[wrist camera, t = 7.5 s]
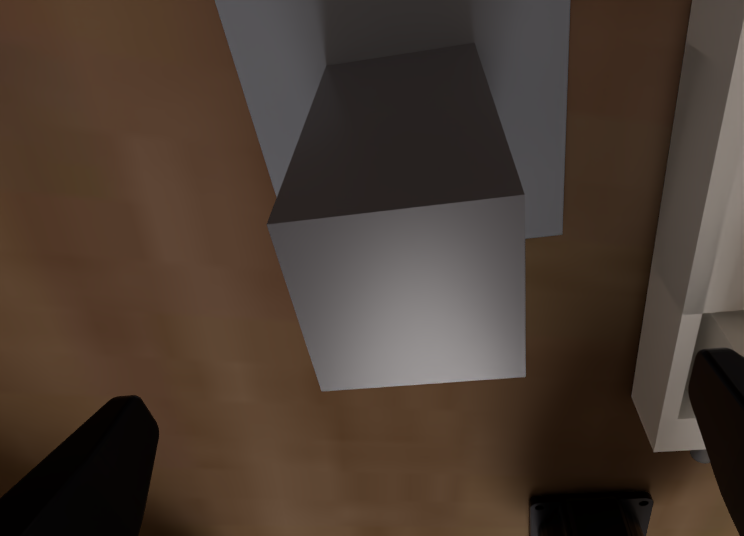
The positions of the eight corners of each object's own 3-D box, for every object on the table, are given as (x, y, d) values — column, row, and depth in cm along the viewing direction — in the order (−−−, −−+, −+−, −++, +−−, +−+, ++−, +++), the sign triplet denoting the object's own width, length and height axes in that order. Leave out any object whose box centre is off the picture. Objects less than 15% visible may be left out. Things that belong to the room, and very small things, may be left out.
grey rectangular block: (481, 177, 19) (525, 377, 12) (353, 193, 20) (321, 391, 13) (474, 42, 16) (525, 194, 9) (326, 65, 17) (266, 224, 10)
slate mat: (559, 227, 21) (562, 234, 20) (299, 256, 22) (297, 264, 22) (568, -86, 15) (573, -84, 14) (214, -19, 16) (210, -15, 16)
